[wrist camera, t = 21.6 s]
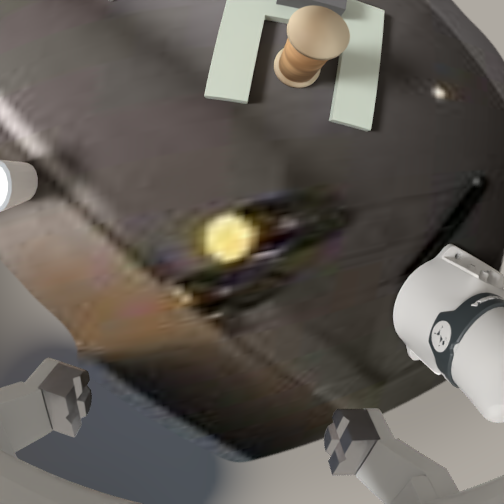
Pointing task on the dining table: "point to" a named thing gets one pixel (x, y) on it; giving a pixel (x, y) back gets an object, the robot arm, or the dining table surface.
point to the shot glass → (16, 183)
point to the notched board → (280, 10)
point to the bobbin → (310, 45)
